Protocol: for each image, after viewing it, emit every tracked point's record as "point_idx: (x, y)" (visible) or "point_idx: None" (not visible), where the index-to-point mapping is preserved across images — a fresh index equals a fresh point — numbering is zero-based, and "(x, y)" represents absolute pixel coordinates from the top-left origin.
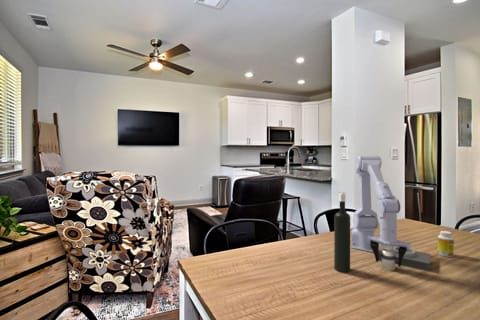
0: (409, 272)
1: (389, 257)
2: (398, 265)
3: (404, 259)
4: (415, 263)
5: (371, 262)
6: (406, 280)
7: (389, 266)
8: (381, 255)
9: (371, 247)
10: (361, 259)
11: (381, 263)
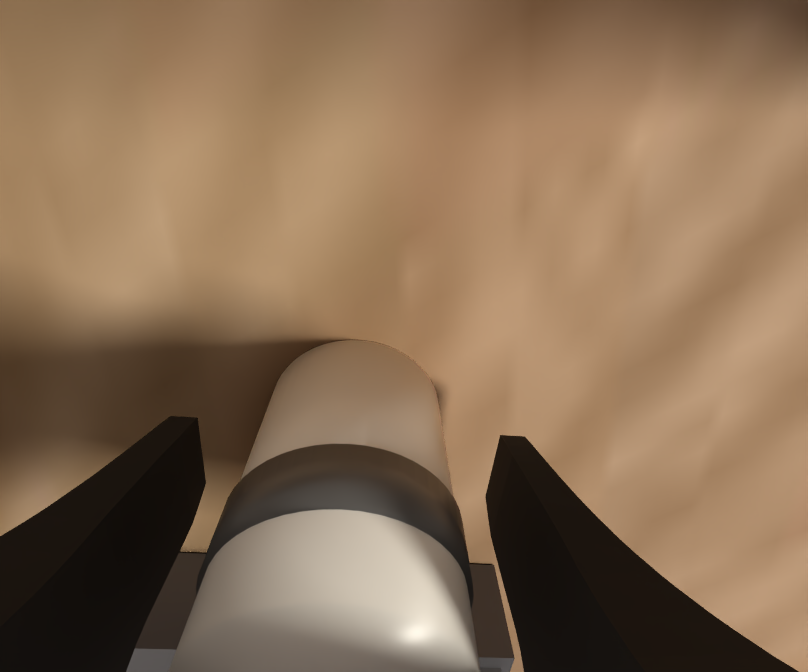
0: (96, 413)
1: (295, 487)
2: (184, 424)
3: (163, 634)
4: None
5: (560, 477)
6: (27, 81)
7: (322, 376)
8: (463, 534)
9: (781, 667)
10: (676, 503)
11: (443, 438)
